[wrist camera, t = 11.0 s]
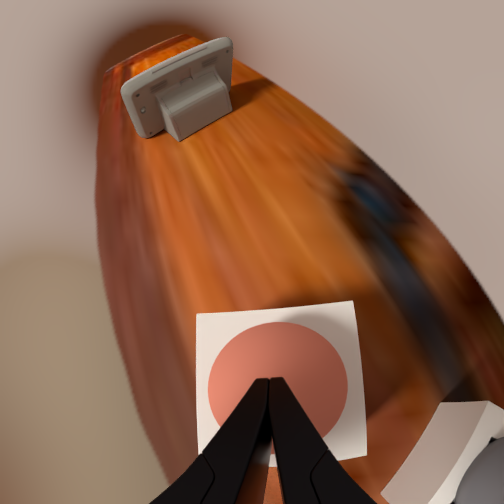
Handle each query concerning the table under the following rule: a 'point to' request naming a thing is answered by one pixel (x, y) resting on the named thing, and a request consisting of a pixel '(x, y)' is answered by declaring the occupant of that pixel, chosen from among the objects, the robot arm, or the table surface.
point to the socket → (445, 453)
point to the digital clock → (182, 91)
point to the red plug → (281, 371)
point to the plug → (484, 477)
